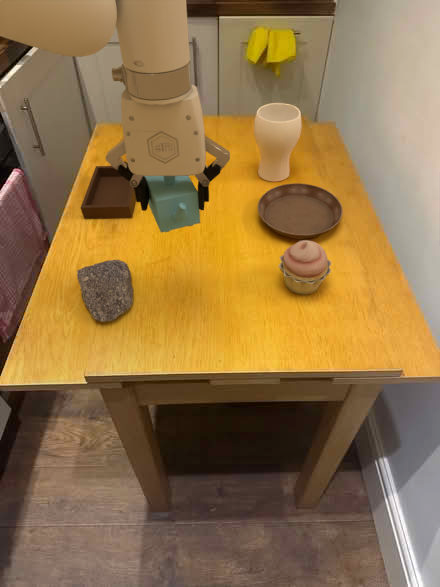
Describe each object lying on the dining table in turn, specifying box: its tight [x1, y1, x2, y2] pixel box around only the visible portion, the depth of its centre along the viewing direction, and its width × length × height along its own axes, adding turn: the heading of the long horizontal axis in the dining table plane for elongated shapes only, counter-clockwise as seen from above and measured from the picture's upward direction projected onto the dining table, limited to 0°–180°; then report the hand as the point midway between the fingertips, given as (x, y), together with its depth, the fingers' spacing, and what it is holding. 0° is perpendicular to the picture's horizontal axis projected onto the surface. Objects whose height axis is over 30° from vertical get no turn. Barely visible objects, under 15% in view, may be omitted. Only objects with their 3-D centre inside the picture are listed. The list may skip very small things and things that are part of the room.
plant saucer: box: [257, 182, 344, 240], centre depth 87 cm, size 18×18×3 cm
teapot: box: [144, 176, 201, 234], centre depth 60 cm, size 12×6×8 cm, turn 21°
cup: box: [253, 102, 303, 182], centre depth 95 cm, size 11×11×15 cm
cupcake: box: [278, 239, 332, 296], centre depth 72 cm, size 9×9×10 cm
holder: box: [80, 165, 137, 220], centre depth 94 cm, size 17×11×3 cm, turn 0°
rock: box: [76, 259, 134, 323], centre depth 73 cm, size 12×5×10 cm
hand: (173, 204), depth 60 cm, fingers closed on teapot, 7 cm apart
